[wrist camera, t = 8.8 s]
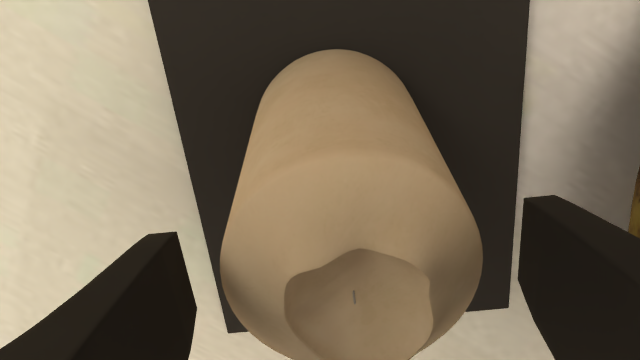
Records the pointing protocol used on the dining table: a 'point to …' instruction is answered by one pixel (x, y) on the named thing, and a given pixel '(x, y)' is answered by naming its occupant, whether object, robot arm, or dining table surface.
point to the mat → (381, 44)
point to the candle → (346, 219)
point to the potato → (635, 210)
